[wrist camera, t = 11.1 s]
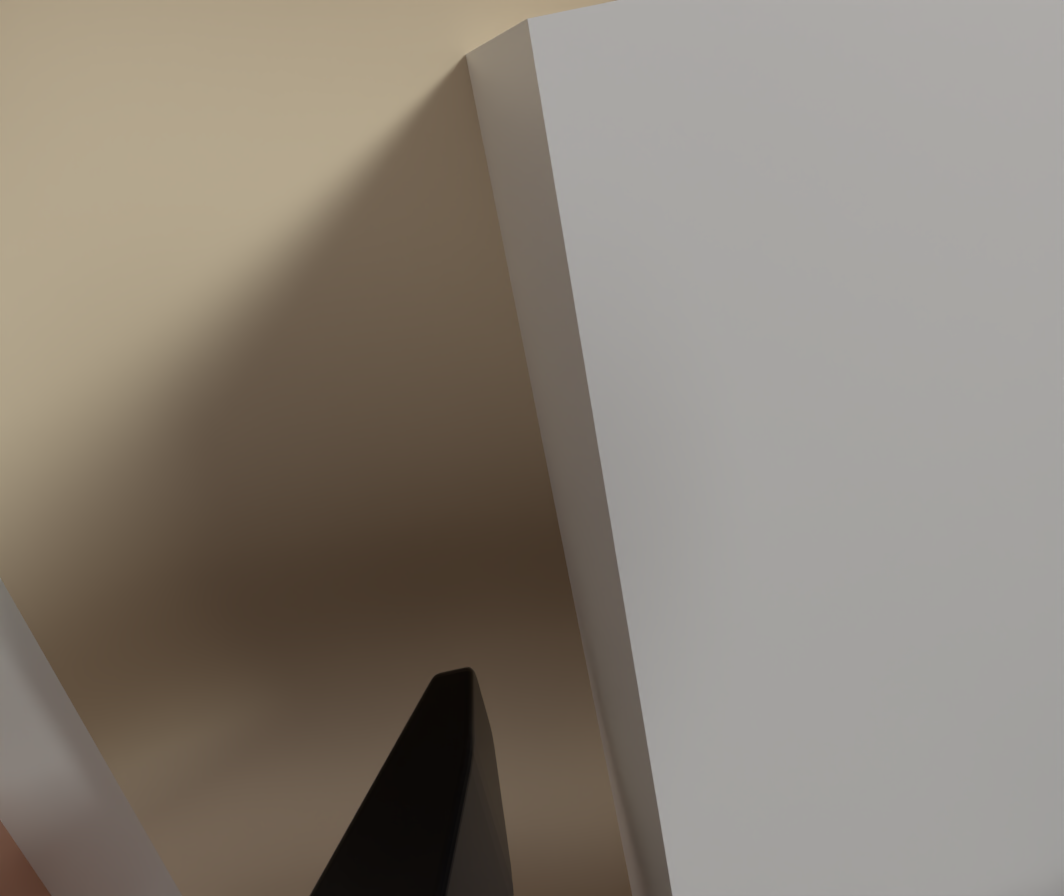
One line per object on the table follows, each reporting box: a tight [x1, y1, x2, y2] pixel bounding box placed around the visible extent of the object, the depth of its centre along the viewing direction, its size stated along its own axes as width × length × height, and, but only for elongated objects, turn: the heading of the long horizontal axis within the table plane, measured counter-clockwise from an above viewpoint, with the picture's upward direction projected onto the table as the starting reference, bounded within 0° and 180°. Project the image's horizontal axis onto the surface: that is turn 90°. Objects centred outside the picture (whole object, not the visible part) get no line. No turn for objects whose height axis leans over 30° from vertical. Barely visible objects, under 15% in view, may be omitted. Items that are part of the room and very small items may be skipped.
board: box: [0, 0, 632, 896], centre depth 10 cm, size 17×12×2 cm
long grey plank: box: [466, 0, 1064, 896], centre depth 7 cm, size 12×2×5 cm, turn 10°
